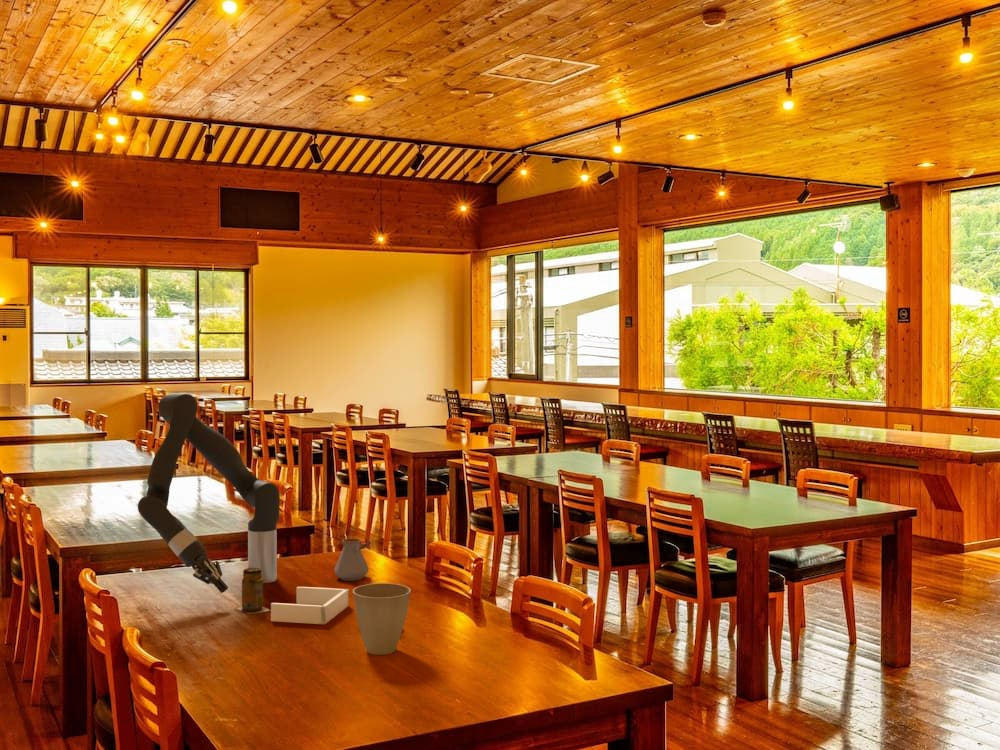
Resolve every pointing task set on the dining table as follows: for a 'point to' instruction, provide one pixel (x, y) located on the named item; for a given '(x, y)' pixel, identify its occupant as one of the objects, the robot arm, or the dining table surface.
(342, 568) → the coffee pot
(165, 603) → the dining table surface
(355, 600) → the plant pot
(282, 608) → the caddy
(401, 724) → the dining table surface
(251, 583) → the condiment
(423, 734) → the dining table surface
